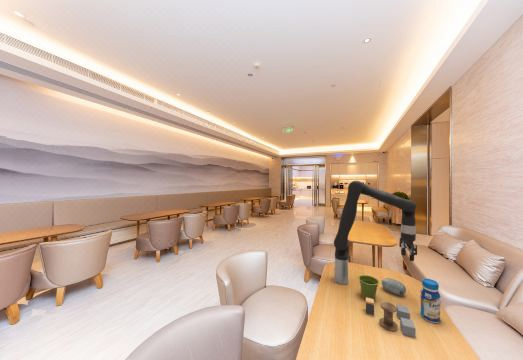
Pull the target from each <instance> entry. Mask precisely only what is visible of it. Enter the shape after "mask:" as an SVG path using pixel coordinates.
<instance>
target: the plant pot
mask: <svg viewBox="0 0 523 360" xmlns="http://www.w3.org/2000/svg"><path fill="white" fill-rule="evenodd" d="M358 281H359V285H360V290H361V296H362V298H364V299H366V297H367V298H371V299H374V300H375V299H376V293H377V289H378V286H379V284H380V280H378V279H377V278H376V277H374V276H372V275H367V274H361V275H359V276H358Z"/></svg>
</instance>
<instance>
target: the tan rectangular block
mask: <svg viewBox="0 0 523 360" xmlns="http://www.w3.org/2000/svg"><path fill="white" fill-rule="evenodd" d="M365 314H366V315H370V316H375V299H371V298H367V297H366V298H365Z"/></svg>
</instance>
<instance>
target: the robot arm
mask: <svg viewBox="0 0 523 360" xmlns="http://www.w3.org/2000/svg"><path fill="white" fill-rule="evenodd" d="M346 194H347V195H346V199H345V202H344V206H343V207H342V211H341V215H340V219H339V226H338V228H337V233H336V235H335V238H334V240H333V245H334V248H335V252H334V272H333V273H334V277H333V278H334V283H337V284H339V285H347V284H349V254H350V241H349V234H350V232H351V229H352V228H353V225H354V223H355V221H356V217H357V212H358V201H359V199H360V196H361V195H363V196H364V195H365V196H368V197H369V198H370V197H371V198H373V199H375V200H377V201H379V202H382V203H384V204H387V205H389V206H392V207H395V208H397V209H399V210H401V221H400V223H401V224H400V225H401V226H400V238H399V243H398V246H399V248H400V250H401V253H400V254H401V255H402V256H406V254H407V251H408V253H409V256H408V258H409V259H408V260H409V261H410V262H414V261H415V256H418V245H417V244H414V242H416V241H417V239H416V237H417V234H416V233H417V229H416V209H417V204H416V202H415V201H414V200H411V199H405V198H403V197H400V196H399V195H396V194H393V193H390V192H387V191H385V190H380V189H378V188H374V187H372V186H369V185H367V184H365V183H363V182H362V181H359V180H353V181H351V182H350V183H349V184H348V187H347V193H346ZM406 249H407V250H406Z"/></svg>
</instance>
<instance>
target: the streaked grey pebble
mask: <svg viewBox="0 0 523 360" xmlns="http://www.w3.org/2000/svg"><path fill="white" fill-rule="evenodd" d="M381 287H382V288H383V289H384V290H385V291H386V292H388V293H391V294H394V295H396V296H401V297H403V296H405V295H406V294H407V289H406V286H405V284H404V283H403V282H401V281H400V280H397V279H394V278H388V277H385V278H382V280H381Z"/></svg>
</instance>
